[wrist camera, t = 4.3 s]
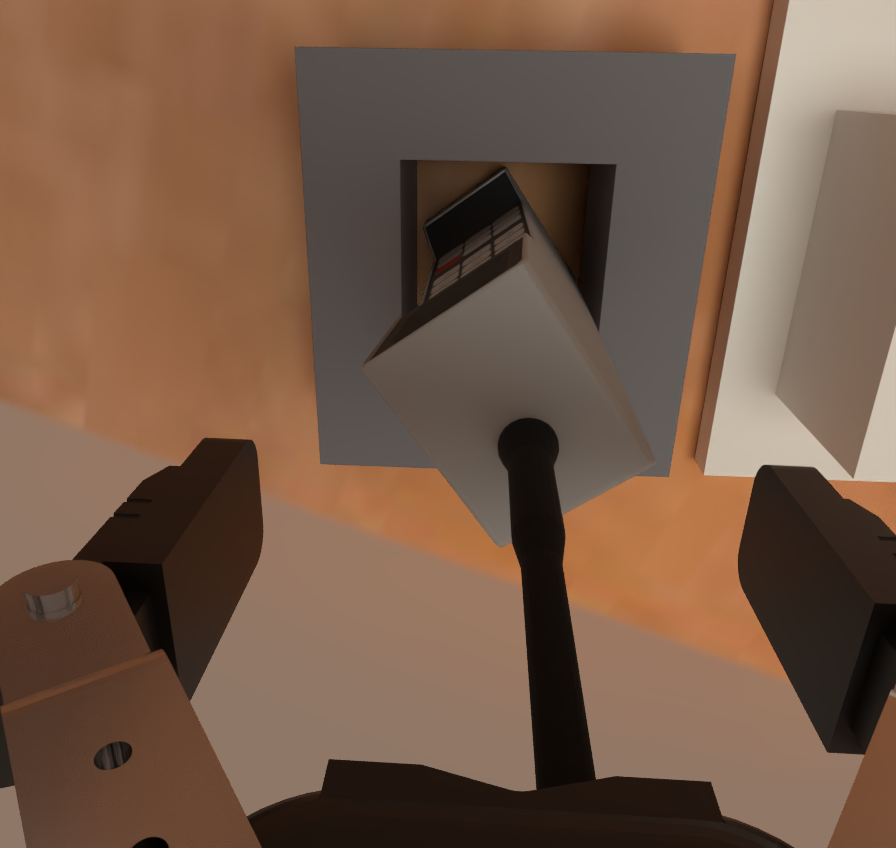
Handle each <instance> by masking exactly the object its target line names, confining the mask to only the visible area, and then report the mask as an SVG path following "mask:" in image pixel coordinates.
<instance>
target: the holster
mask: <svg viewBox="0 0 896 848" xmlns="http://www.w3.org/2000/svg"><path fill="white" fill-rule="evenodd" d="M735 58H736V54H703V53H643V52H582V51H522V50H462V49H401V48H341V47H295V59H296V75H297V92H298V108H299V124H300V140H301V157H302V173H303V189H304V205H305V222H306V238H307V254H308V270H309V286H310V303H311V319H312V335H313V351H314V368H315V384H316V400H317V416H318V432H319V449H320V464H333V465H360V466H387V467H413V468H437V467H436V466H435V465H434V463H433V462H432V461H431V459H430V458H429V457H428V456H427V454H426V453H425V452H424V450H423V449H422V448H421V446H420V445H419V444H418V442H417V441H416V440H415V439H414V437H413V436H412V435H411V433H410V432H409V431H408V429H407V428H406V427H405V426H404V424H403V423H402V422H401V420H400V419H399V418H398V416H397V415H396V414H395V413H394V411H393V410H392V409H391V407H390V406H389V405H388V403H387V402H386V401H385V400H384V398H383V397H382V396H381V394H380V393H379V392H378V390H377V389H376V388H375V387H374V385H373V384H372V383H371V381H370V380H369V379H368V377H367V376H366V375H365V374H364V372H363V371H362V365H363V363H364V362H365V360H366V359H367V358H368V357H369V355H370V354H371V353H372V351H373V350H374V349H375V347H376V346H377V345H378V343H379V342H380V341H381V339H382V338H383V337H384V336H385V334H386V333H387V332H388V330H389V329H390V328H391V326H392V325H393V324H394V322H395V321H396V320H397V318H398V317H399V316H400V315H401V316H405V315H406V314H408V313H409V312H411V311H412V310H414V309H415V308H417V160H444V161H489V162H535V163H580V164H590V167H589V178H588V189H587V200H586V211H585V222H584V233H583V244H582V255H581V266H580V277H579V289H580V291H581V294H582V296H583V298H584V300H585V303H586V305H587V307H588V309H589V312H590V314H591V316H592V318H593V321H594V323H595V325H596V327H597V330H598V332H599V334H600V336H601V338H602V341H603V343H604V345H605V347H606V350H607V352H608V354H609V356H610V359H611V361H612V363H613V365H614V368H615V370H616V372H617V374H618V376H619V379H620V381H621V383H622V385H623V388H624V390H625V392H626V394H627V397H628V399H629V401H630V403H631V406H632V408H633V410H634V412H635V414H636V417H637V419H638V421H639V423H640V426H641V428H642V430H643V432H644V435H645V437H646V439H647V441H648V444H649V446H650V448H651V450H652V452H653V455H654V457H655V459H656V464H655V465H654V466H652V467H650V468H649V469H647V470H645V471H643V472H641V473H639V474H637V475H636V476H656V477H669V473H670V467H671V460H672V454H673V448H674V442H675V435H676V429H677V423H678V416H679V410H680V404H681V397H682V391H683V385H684V379H685V372H686V366H687V360H688V353H689V347H690V341H691V335H692V328H693V322H694V316H695V309H696V303H697V297H698V291H699V284H700V278H701V272H702V265H703V259H704V253H705V246H706V240H707V234H708V228H709V221H710V215H711V209H712V202H713V196H714V190H715V184H716V177H717V171H718V165H719V158H720V152H721V146H722V140H723V133H724V127H725V121H726V114H727V108H728V102H729V95H730V89H731V83H732V77H733V70H734V64H735Z"/></svg>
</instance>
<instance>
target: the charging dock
mask: <svg viewBox="0 0 896 848" xmlns="http://www.w3.org/2000/svg"><path fill="white" fill-rule="evenodd" d="M695 460H696V462H697V464H698V466H699V468H700V470H701V471H702V473H703V475H713V476H741V477H755V476H756V474H757V472H758V470H759V468H760V467H761V466H762V465H784V466H806V467H814V468H816V469H817V470H818V471H819V472H820V473H821V474H822V475H823V476H824V477H825V479H826V480H849V481H876V482H896V0H774V4H773V9H772V15H771V21H770V27H769V32H768V38H767V44H766V50H765V56H764V61H763V67H762V73H761V79H760V84H759V90H758V96H757V102H756V107H755V113H754V119H753V125H752V131H751V136H750V142H749V148H748V154H747V159H746V165H745V171H744V177H743V183H742V188H741V194H740V200H739V206H738V211H737V217H736V223H735V229H734V234H733V240H732V246H731V252H730V258H729V263H728V269H727V275H726V281H725V286H724V292H723V298H722V304H721V309H720V315H719V321H718V327H717V333H716V338H715V344H714V350H713V356H712V361H711V367H710V373H709V379H708V385H707V390H706V396H705V402H704V408H703V413H702V419H701V425H700V431H699V436H698V442H697V448H696V454H695Z"/></svg>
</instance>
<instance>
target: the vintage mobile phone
mask: <svg viewBox="0 0 896 848" xmlns="http://www.w3.org/2000/svg"><path fill="white" fill-rule="evenodd" d="M423 229H424V232H425V235H426V238H427V241H428V244H429V247H430V249H431V252H432V255H433V258H434V261H433V264H432V268H431V271H430V274H429V278H428V281H427V284H426V288H425V291H424V294H423V297H422V301H421V304H420V306H418V307H417V308H415V309H414V310H412V311H411V312H409V313H408V314H406V315H405V316H401V315H400V316H399V317H398V318H397V320H396V321H395V322H394V324H393V325H392V326H391V328H390V329H389V330H388V332H387V333H386V334H385V336H384V337H383V338H382V339H381V341H380V342H379V343H378V345H377V346H376V347H375V349H374V350H373V351H372V353H371V354H370V355H369V357H368V358H367V359H366V360H365V362H364V363H363V365H362V371H363V372H364V374H365V375H366V376H367V377H368V379H369V380H370V381H371V383H372V384H373V385H374V387H375V388H376V389H377V390H378V392H379V393H380V394H381V396H382V397H383V398H384V400H385V401H386V402H387V403H388V405H389V406H390V407H391V409H392V410H393V411H394V413H395V414H396V415H397V416H398V418H399V419H400V420H401V422H402V423H403V424H404V426H405V427H406V428H407V429H408V431H409V432H410V433H411V435H412V436H413V437H414V439H415V440H416V441H417V442H418V444H419V445H420V446H421V448H422V449H423V450H424V452H425V453H426V454H427V456H428V457H429V458H430V459H431V461H432V462H433V463H434V465H435V466H436V467H437V469H438V470H439V471H440V472H441V474H442V475H443V476H444V478H445V479H446V480H447V482H448V483H449V484H450V485H451V487H452V488H453V489H454V491H455V492H456V493H457V495H458V496H459V497H460V498H461V500H462V501H463V502H464V504H465V505H466V506H467V508H468V509H469V510H470V511H471V513H472V514H473V515H474V517H475V518H476V519H477V521H478V522H479V523H480V524H481V526H482V527H483V528H484V530H485V531H486V532H487V534H488V535H489V536H490V537H491V539H492V540H493V541H494V543H495V544H496V545H498V546H499V547H504V546H505V545H507V544H509V543H511V542H512V544H513V547H514V550H515V553H516V555H517V558H518V561H519V564H520V567H521V574H522V588H523V603H524V617H525V631H526V646H527V660H528V674H529V687H530V702H531V716H532V731H533V746H534V759H535V774H536V788H537V790H538V789H544V788H550V787H556V786H562V785H568V784H573V783H579V782H585V781H591V780H596V777H595V771H594V764H593V758H592V751H591V745H590V738H589V733H588V726H587V719H586V713H585V706H584V701H583V694H582V688H581V681H580V674H579V668H578V662H577V655H576V649H575V642H574V636H573V630H572V623H571V617H570V610H569V604H568V597H567V591H566V585H565V578H564V572H563V565H562V564H563V555H564V546H565V529H564V523H563V517H562V515H563V514H565V513H567V512H569V511H570V510H572V509H574V508H576V507H578V506H580V505H582V504H583V503H585V502H587V501H589V500H591V499H593V498H595V497H596V496H598V495H600V494H602V493H604V492H606V491H608V490H609V489H611V488H613V487H615V486H617V485H619V484H621V483H622V482H624V481H626V480H628V479H630V478H632V477H634V476H636V475H637V474H639V473H641V472H643V471H645V470H647V469H649V468H650V467H652V466H654V465H655V464H656V459H655V457H654V455H653V452H652V450H651V448H650V446H649V444H648V441H647V439H646V437H645V435H644V432H643V430H642V428H641V426H640V423H639V421H638V419H637V417H636V414H635V412H634V410H633V408H632V406H631V403H630V401H629V399H628V397H627V394H626V392H625V390H624V388H623V385H622V383H621V381H620V379H619V376H618V374H617V372H616V370H615V368H614V365H613V363H612V361H611V359H610V356H609V354H608V352H607V350H606V347H605V345H604V343H603V341H602V338H601V336H600V334H599V332H598V330H597V327H596V325H595V323H594V321H593V318H592V316H591V314H590V312H589V309H588V307H587V305H586V303H585V300H584V298H583V296H582V294H581V291H580V289H579V287H578V285H577V283H576V280H575V278H574V276H573V274H572V272H571V271H570V269H569V267H568V266H567V264H566V262H565V261H564V259H563V258H562V256H561V254H560V253H559V251H558V250H557V248H556V246H555V245H554V243H553V242H552V240H551V238H550V237H549V235H548V233H547V232H546V230H545V229H544V227H543V225H542V224H541V222H540V221H539V219H538V217H537V216H536V214H535V213H534V211H533V209H532V208H531V206H530V205H529V203H528V201H527V200H526V198H525V196H524V195H523V193H522V192H521V190H520V188H519V187H518V185H517V184H516V182H515V180H514V179H513V177H512V176H511V174H510V172H509V171H508V169H507V168H506V167H503V168H502V169H500V170H499V171H498V172H496V173H495V174H493V175H492V176H490V177H489V178H488V179H486V180H485V181H483V182H482V183H480V184H479V185H478V186H476V187H475V188H473V189H472V190H471V191H469V192H468V193H466V194H465V195H463V196H462V197H461V198H459V199H458V200H456V201H455V202H453V203H452V204H451V205H449V206H448V207H446V208H445V209H443V210H442V211H441V212H439V213H438V214H436V215H435V216H433V217H432V218H431V219H429V220H428V221H426V222H425V224H424V226H423Z"/></svg>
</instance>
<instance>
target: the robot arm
mask: <svg viewBox="0 0 896 848" xmlns="http://www.w3.org/2000/svg"><path fill="white" fill-rule="evenodd" d="M262 541H263V517H262V506H261V493H260V481H259V469H258V457H257V450H256V446H255V444H254V442H253V441H252V440H243V439H222V438H204V439H203V440H202V441H201V442H200V443H199V444H198V446H197V447H196V448H195V449H194V450H193V452H192V453H191V454H190V455H189V456H188V458H187V459H186V460H185V461H184V463H183V464H182V465H181V466H168V467H166V468H165V469H163V470H161V471H159V472H157V473H156V474H154V475H152V476H150V477H148V478H147V479H145V480H143V481H142V482H141V483H140V484H139V486H138V487H137V488H136V489H135V490H134V491H133V492H132V493H131V494H130V496H129V497H128V498H127V502H124V503H123V504H122V505H121V506H120V507H119V508H118V509H117V510H116V512H114V517H110V518H109V519H108V520H107V521H106V523H105V524H104V525H103V526H102V527H101V528H100V529H99V530H98V532H97V533H96V534H95V535H94V536H93V537H92V538H91V540H90V541H89V542H88V543H87V544H86V545H85V546H84V547H83V548H82V549H81V551H80V552H79V553H78V554H77V555H76V556H75V557H74V559H73V560H65V561H58V562H52V563H48V564H44V565H41V566H38V567H34V568H32V569H29V570H27V571H24V572H22V573H20V574H18V575H16V576H14V577H13V578H11V579H10V580H8V581H6V582H5V583H4V584H2V585H1V586H0V788H4V787H9V786H14V785H15V789H16V794H17V799H18V804H19V810H20V816H21V821H22V826H23V831H24V837H25V842H26V847H27V848H794V847H792V846H791V845H789V844H787V843H786V842H784V841H782V840H781V839H778V838H777V837H774V836H772V835H770V834H768V833H766V832H764V831H762V830H760V829H758V828H756V827H753V826H751V825H748V824H745V823H743V822H740V821H738V820H735V819H732V818H729V817H725V816H722V815H721V812H720V809H719V806H718V803H717V799H716V796H715V794H714V790H713V787H712V784H711V782H703V781H687V780H669V779H653V778H636V777H635V778H634V777H619V776H615V777H609V778H603V779H597V780H591V781H585V782H579V783H573V784H568V785H562V786H556V787H550V788H544V789H538V790H532V791H524V792H522V791H512V790H508V789H505V788H501V787H498V786H494V785H491V784H487V783H484V782H480V781H477V780H473V779H470V778H466V777H463V776H459V775H455V774H452V773H448V772H445V771H442V770H438V769H435V768H431V767H428V766H424V765H416V764H400V763H399V764H398V763H383V762H366V761H350V760H333V759H329V761H328V765H327V769H326V774H325V778H324V782H323V786H322V790H321V791H316V792H311V793H306V794H303V795H299V796H296V797H292V798H288V799H285V800H282V801H280V802H277V803H275V804H272V805H270V806H267V807H265V808H262V809H260V810H258V811H256V812H254V813H252V814H251V815H249V816H247V817H246V815H245V813H244V811H243V808H242V807H241V804H240V803H239V800H238V798H237V797H236V794H235V793H234V790H233V788H232V786H231V784H230V782H229V780H228V778H227V776H226V774H225V772H224V770H223V768H222V766H221V764H220V762H219V760H218V758H217V756H216V754H215V752H214V750H213V748H212V746H211V744H210V742H209V740H208V738H207V736H206V734H205V732H204V729H203V727H202V725H201V724H200V721H199V719H198V717H197V715H196V713H195V711H194V709H193V707H192V705H191V703H190V700H191V698H192V696H193V694H194V692H195V690H196V688H197V686H198V684H199V682H200V680H201V677H202V676H203V674H204V672H205V670H206V668H207V665H208V663H209V661H210V659H211V657H212V655H213V653H214V651H215V649H216V647H217V645H218V643H219V641H220V639H221V637H222V635H223V633H224V631H225V629H226V627H227V624H228V622H229V620H230V618H231V616H232V614H233V612H234V610H235V608H236V606H237V604H238V602H239V600H240V598H241V596H242V594H243V592H244V590H245V588H246V586H247V583H248V582H249V580H250V577H251V575H252V573H253V571H254V569H255V567H256V565H257V563H258V560H259V557H260V553H261V548H262ZM738 572H739V579H740V583H741V586H742V589H743V591H744V593H745V595H746V597H747V599H748V601H749V603H750V605H751V606H752V608H753V610H754V612H755V614H756V616H757V618H758V620H759V622H760V624H761V626H762V628H763V630H764V632H765V633H766V635H767V637H768V639H769V641H770V643H771V645H772V647H773V649H774V651H775V653H776V655H777V657H778V658H779V660H780V662H781V664H782V666H783V668H784V670H785V672H786V674H787V676H788V678H789V680H790V682H791V683H792V685H793V687H794V689H795V691H796V693H797V695H798V697H799V699H800V701H801V703H802V704H803V707H804V708H805V710H806V712H807V714H808V716H809V718H810V720H811V722H812V724H813V726H814V728H815V730H816V732H817V733H818V735H819V737H820V739H821V741H822V743H823V745H824V747H825V749H826V751H827V752H829V753H846V754H863V755H865V756H864V758H863V761H862V763H861V766H860V768H859V770H858V773H857V776H856V778H855V780H854V783H853V785H852V788H851V790H850V793H849V795H848V798H847V800H846V803H845V805H844V808H843V810H842V813H841V815H840V817H839V820H838V822H837V825H836V827H835V830H834V833H833V835H832V838H831V840H830V842H829V845H828V847H827V848H896V535H895V534H894V533H893V532H892V531H891V529H890V528H889V527H888V526H887V525H886V524H885V523H884V522H883V521H882V520H881V519H880V518H879V517H878V516H876V515H875V514H873V513H871V512H870V511H868V510H866V509H865V508H863V507H861V506H860V505H858V504H856V503H855V502H853V501H851V500H850V499H843V498H842V497H841V495H840V494H839V493H838V492H837V491H836V490H835V489H834V488H833V486H832V485H831V484H830V483H829V482H828V481H827V480H826V479H825V477H824V476H823V475H822V474H821V473H820V472H819V471H818V470H817V469H816V468H814V467H806V466H784V465H762V466H761V467H760V468H759V470H758V472H757V474H756V476H755V480H754V484H753V488H752V493H751V497H750V502H749V506H748V511H747V515H746V520H745V525H744V529H743V534H742V538H741V543H740V547H739V554H738Z"/></svg>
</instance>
